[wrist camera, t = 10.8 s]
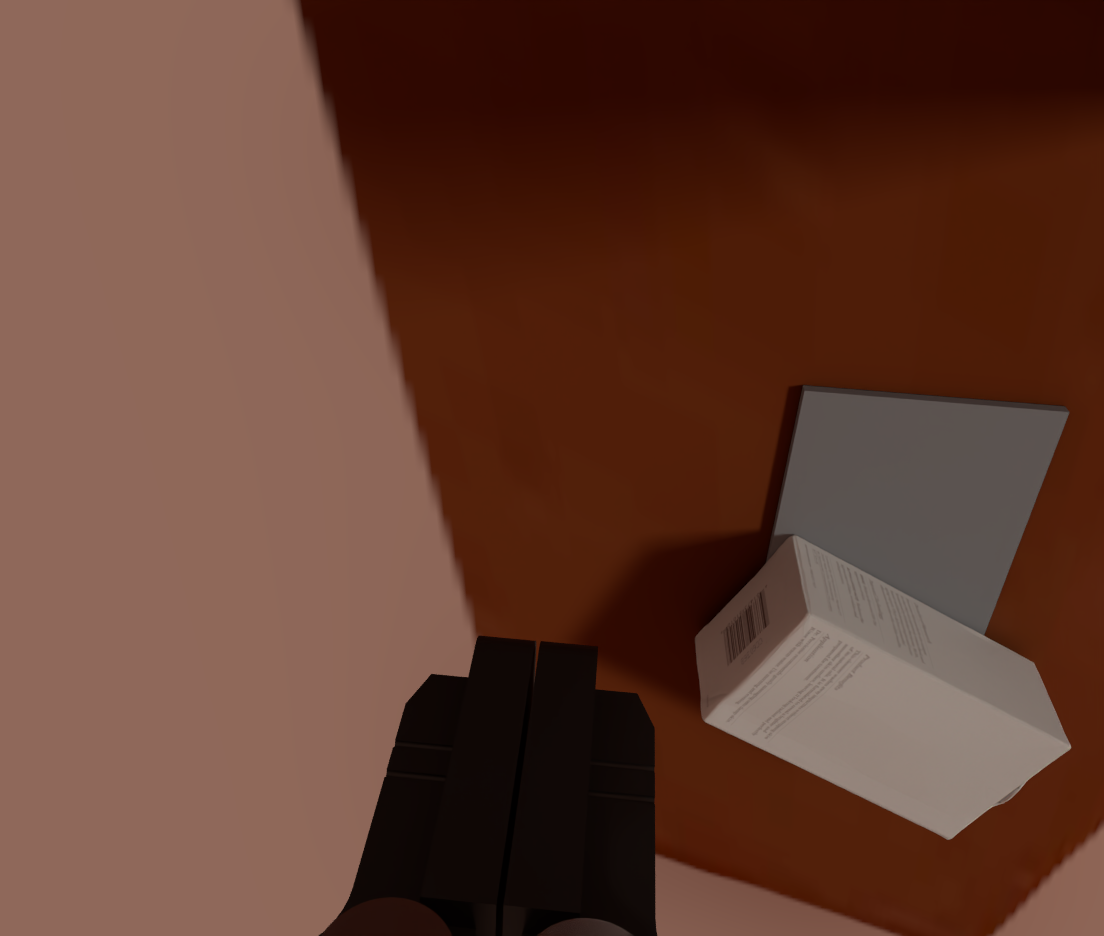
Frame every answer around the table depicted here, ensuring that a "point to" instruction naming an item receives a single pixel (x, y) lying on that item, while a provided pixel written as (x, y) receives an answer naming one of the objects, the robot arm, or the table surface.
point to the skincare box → (875, 691)
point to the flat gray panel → (917, 489)
